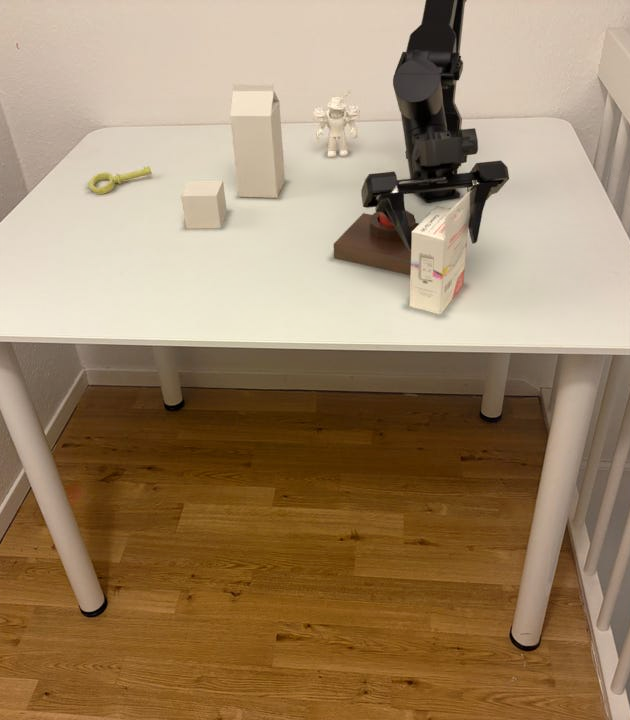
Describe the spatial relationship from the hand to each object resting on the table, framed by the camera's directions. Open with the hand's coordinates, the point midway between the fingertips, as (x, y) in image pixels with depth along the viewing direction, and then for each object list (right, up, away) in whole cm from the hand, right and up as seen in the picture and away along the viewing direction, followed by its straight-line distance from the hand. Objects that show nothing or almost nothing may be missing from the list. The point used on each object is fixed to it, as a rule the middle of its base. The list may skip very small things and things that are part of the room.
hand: (442, 246), depth 96 cm
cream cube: (-34, +9, +30) cm, 46 cm away
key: (-53, +19, +44) cm, 71 cm away
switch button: (-4, +6, +16) cm, 18 cm away
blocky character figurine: (-11, +26, +49) cm, 56 cm away
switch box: (-5, +2, +17) cm, 18 cm away
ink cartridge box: (0, -6, +7) cm, 9 cm away
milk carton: (-25, +16, +38) cm, 48 cm away
